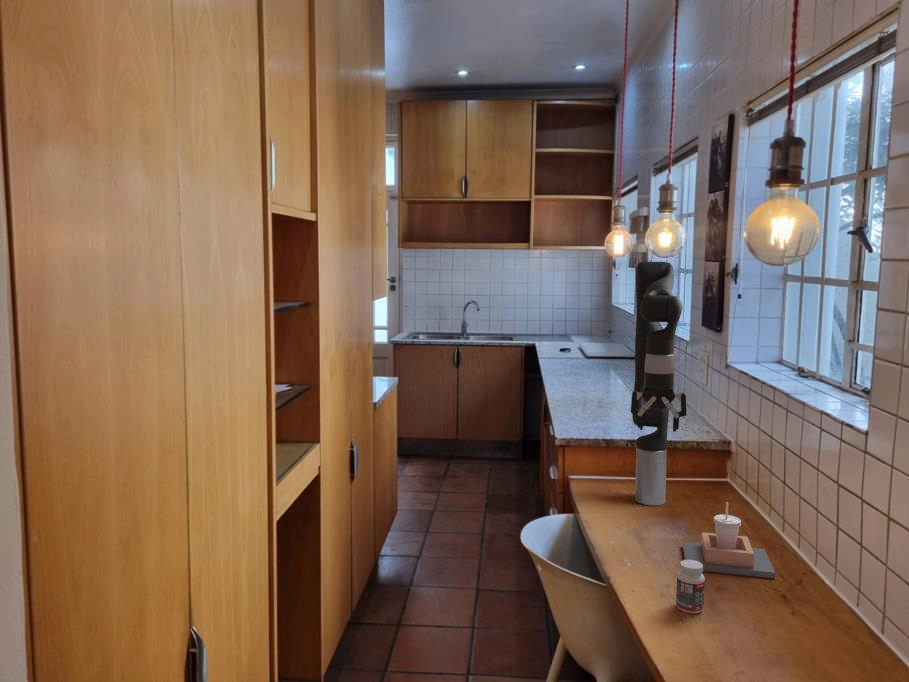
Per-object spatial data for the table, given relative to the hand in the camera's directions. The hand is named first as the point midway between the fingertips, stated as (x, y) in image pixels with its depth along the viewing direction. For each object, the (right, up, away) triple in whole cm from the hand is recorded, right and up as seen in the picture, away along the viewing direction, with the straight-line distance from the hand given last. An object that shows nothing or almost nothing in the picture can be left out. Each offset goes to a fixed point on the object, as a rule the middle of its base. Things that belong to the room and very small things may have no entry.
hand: (657, 430), depth 182 cm
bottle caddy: (+14, -32, -12) cm, 36 cm away
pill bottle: (-3, -34, -35) cm, 49 cm away
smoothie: (+13, -30, -12) cm, 35 cm away
